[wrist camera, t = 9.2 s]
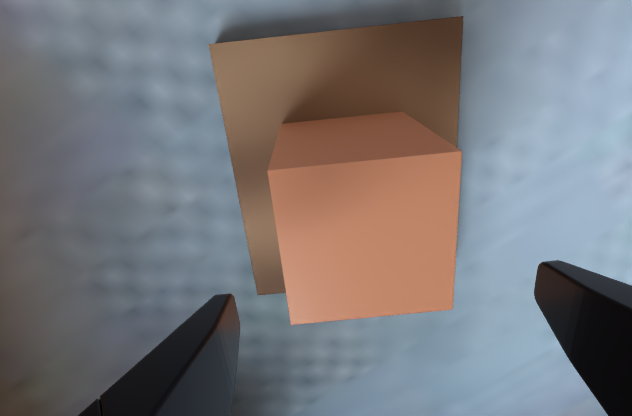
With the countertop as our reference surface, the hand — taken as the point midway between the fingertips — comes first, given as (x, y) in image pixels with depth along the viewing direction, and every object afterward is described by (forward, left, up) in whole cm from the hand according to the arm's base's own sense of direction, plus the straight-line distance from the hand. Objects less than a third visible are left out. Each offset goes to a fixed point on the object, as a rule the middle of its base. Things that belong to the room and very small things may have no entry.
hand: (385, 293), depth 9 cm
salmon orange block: (0, 0, -9) cm, 9 cm away
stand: (0, 0, -10) cm, 10 cm away
